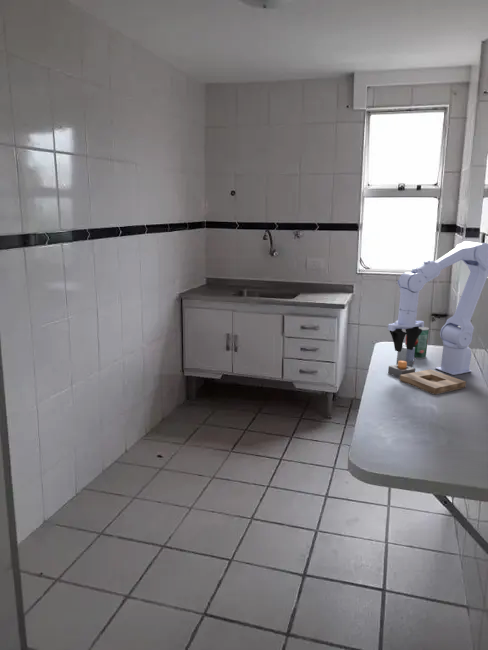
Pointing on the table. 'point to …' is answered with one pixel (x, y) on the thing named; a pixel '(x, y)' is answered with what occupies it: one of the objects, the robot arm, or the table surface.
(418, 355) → the canned tomato
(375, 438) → the table surface
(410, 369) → the button housing
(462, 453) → the table surface
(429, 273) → the robot arm
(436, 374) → the wooden board
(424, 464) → the table surface
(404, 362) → the button cap
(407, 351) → the billet
